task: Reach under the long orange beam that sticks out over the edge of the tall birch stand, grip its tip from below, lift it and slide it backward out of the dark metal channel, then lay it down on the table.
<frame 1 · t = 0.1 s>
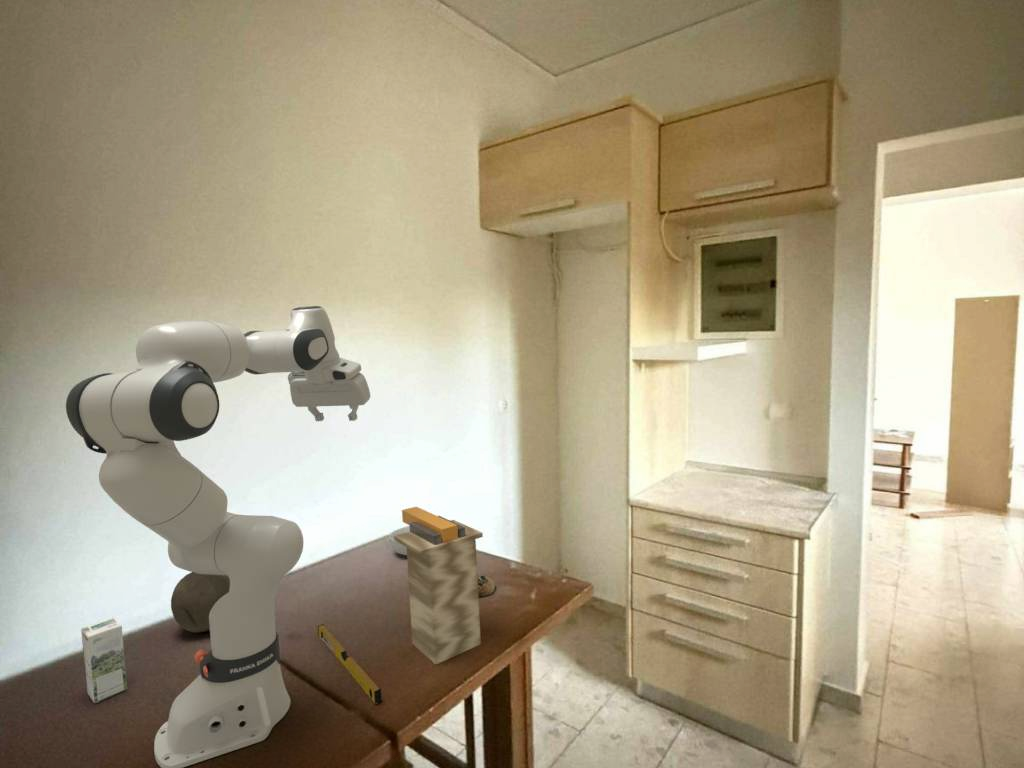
hand: (336, 420, 134), 52 cm above the table, tool tilted 20°, fingers open, 8 cm apart
spirit level: (346, 667, 116), on the table
stand: (444, 642, 123), on the table
cereal bowl: (415, 552, 180), on the table
long orange beam: (428, 529, 125), point 26 cm above the table, touching stand
dark grey ball: (205, 628, 135), on the table
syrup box: (107, 693, 110), on the table
bread roll: (477, 590, 150), on the table
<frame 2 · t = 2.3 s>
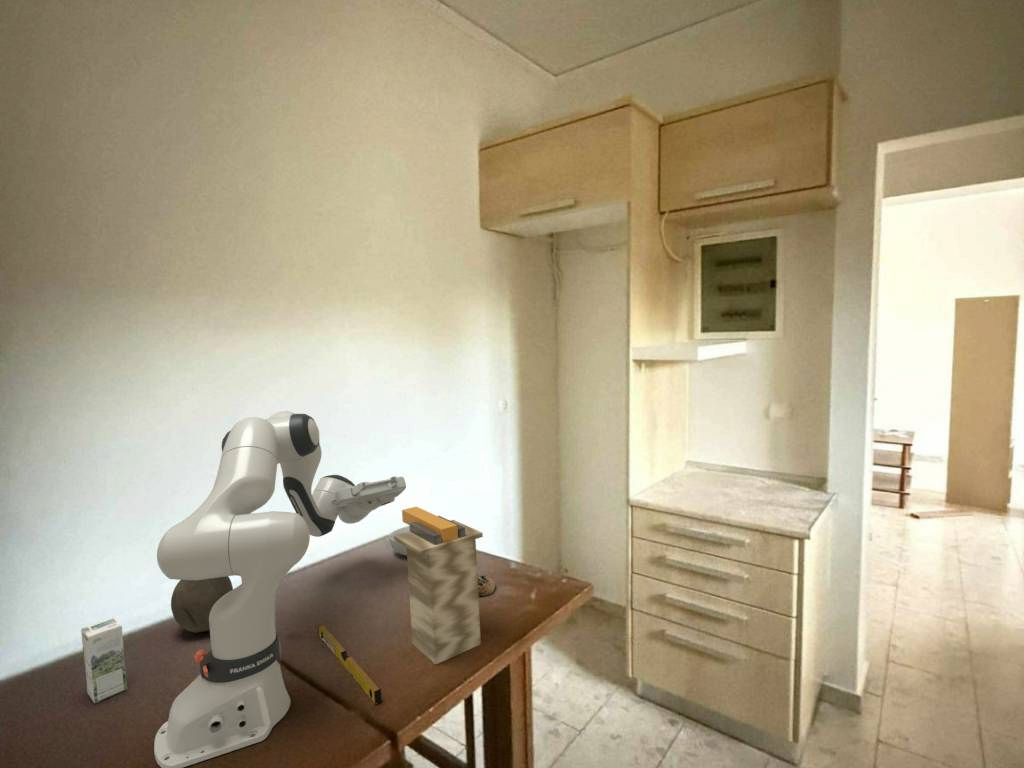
hand: (379, 482, 147), 33 cm above the table, tool pointing upward, fingers open, 8 cm apart
nothing on the table moved.
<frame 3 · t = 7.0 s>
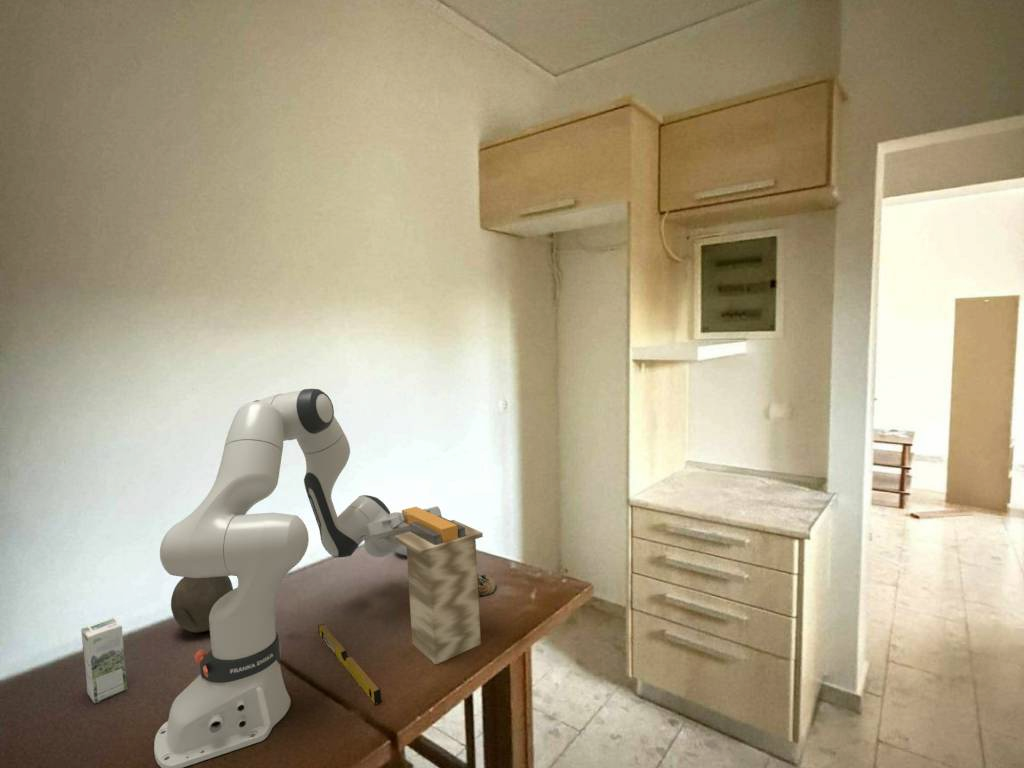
hand: (414, 514, 131), 28 cm above the table, tool pointing upward, fingers closed on long orange beam, 4 cm apart
long orange beam: (428, 529, 125), point 26 cm above the table, touching gripper, stand
everything else where it was.
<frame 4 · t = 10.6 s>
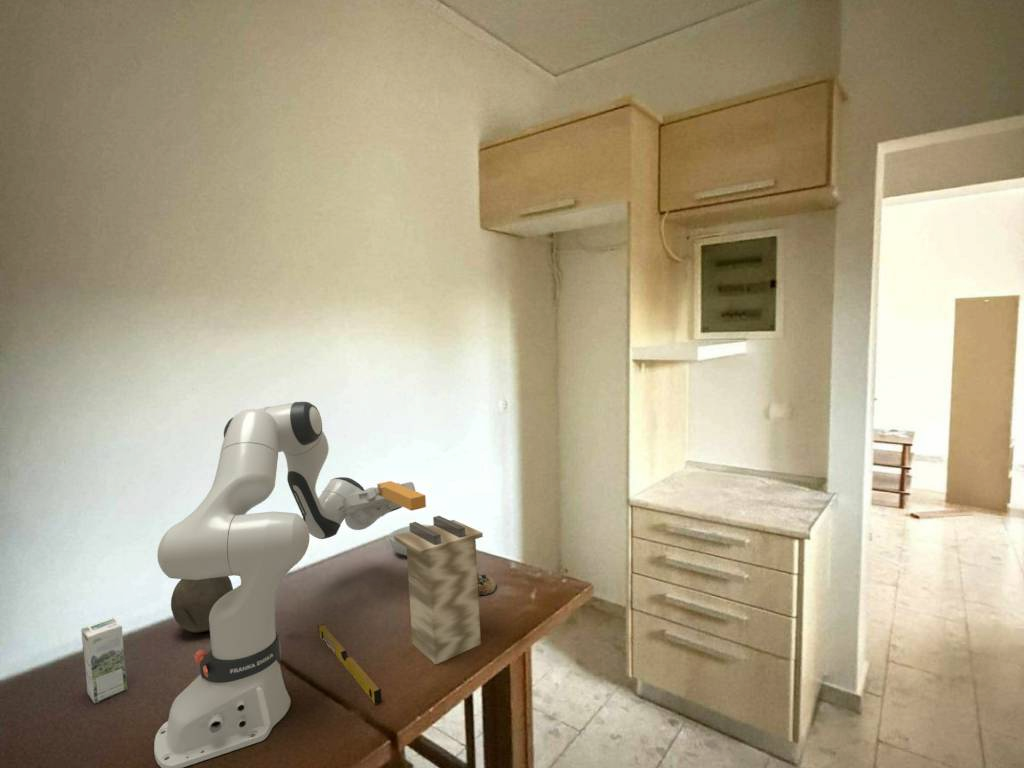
hand: (388, 488, 142), 32 cm above the table, tool pointing upward, fingers closed on long orange beam, 4 cm apart
long orange beam: (400, 500, 136), point 30 cm above the table, touching gripper
everything else where it was.
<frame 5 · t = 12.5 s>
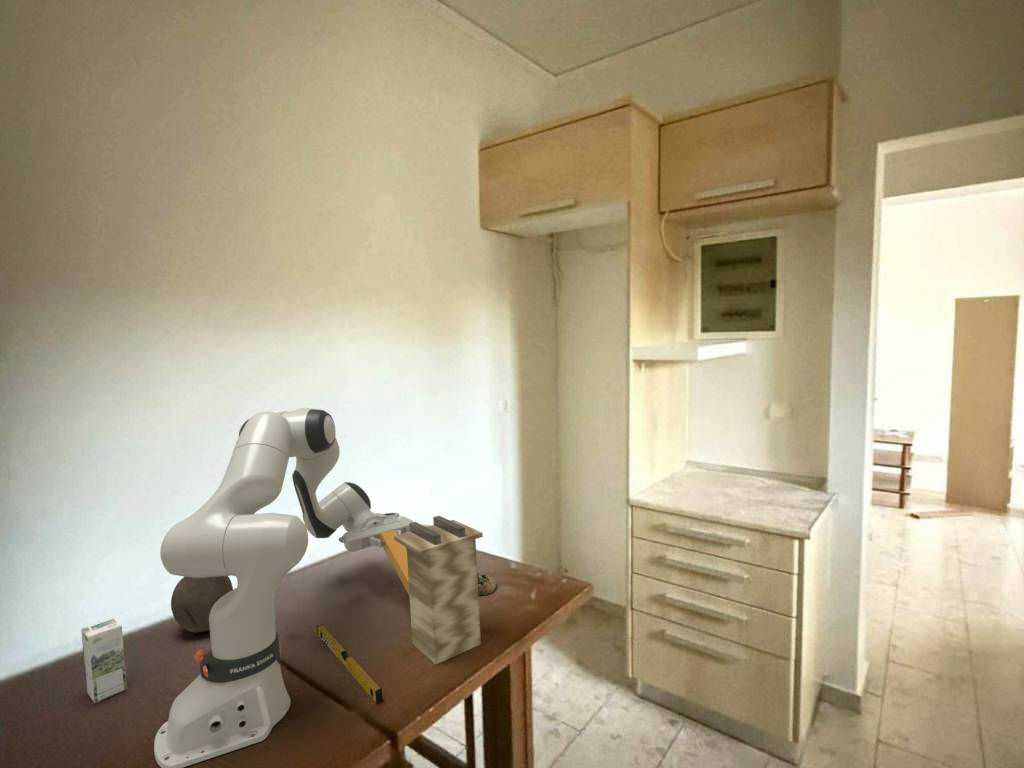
hand: (391, 541, 143), 17 cm above the table, tool horizontal, fingers closed on long orange beam, 4 cm apart
long orange beam: (401, 566, 139), point 12 cm above the table, tilted 30°, touching gripper
everything else where it was.
when the fingers open (11 cm above the table, at t = 14.3 s): long orange beam drops 6 cm, on the table.
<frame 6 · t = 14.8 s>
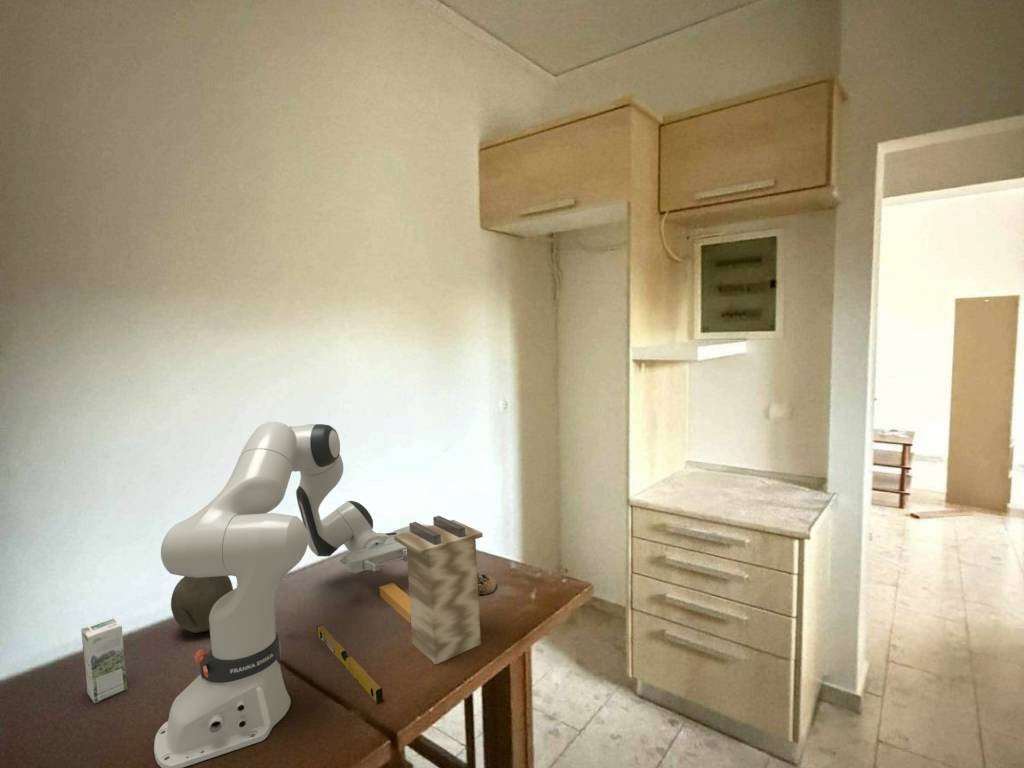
hand: (393, 563, 144), 11 cm above the table, tool horizontal, fingers open, 8 cm apart
long orange beam: (401, 608, 142), on the table
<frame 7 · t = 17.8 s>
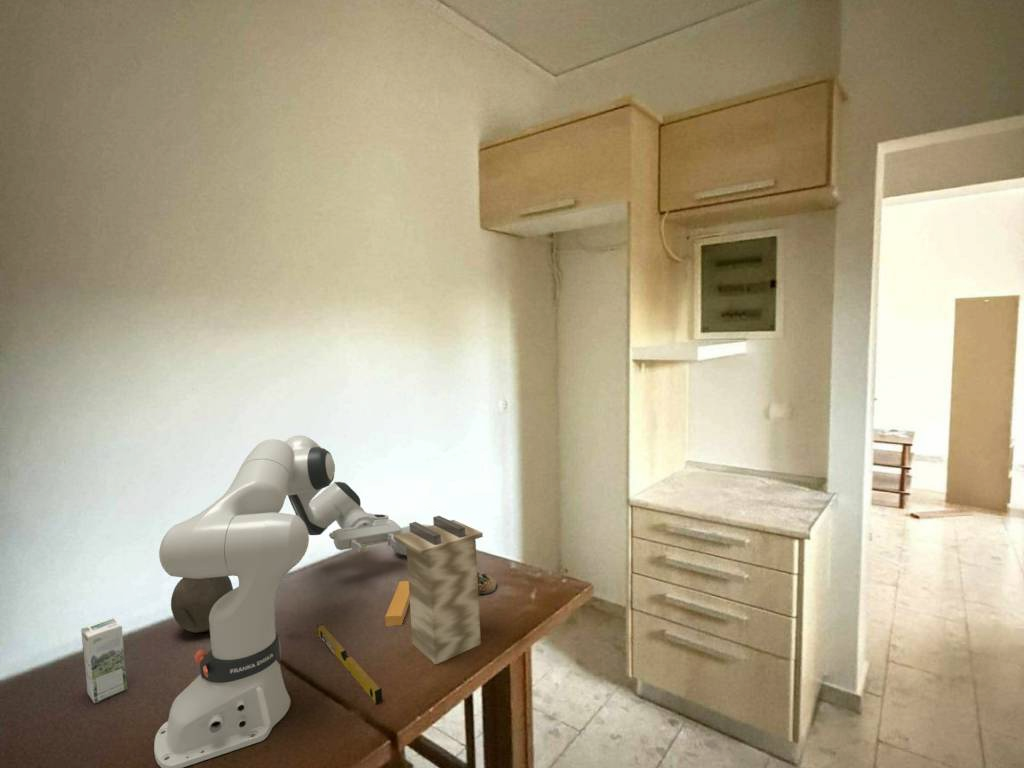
hand: (377, 546, 154), 12 cm above the table, tool horizontal, fingers open, 8 cm apart
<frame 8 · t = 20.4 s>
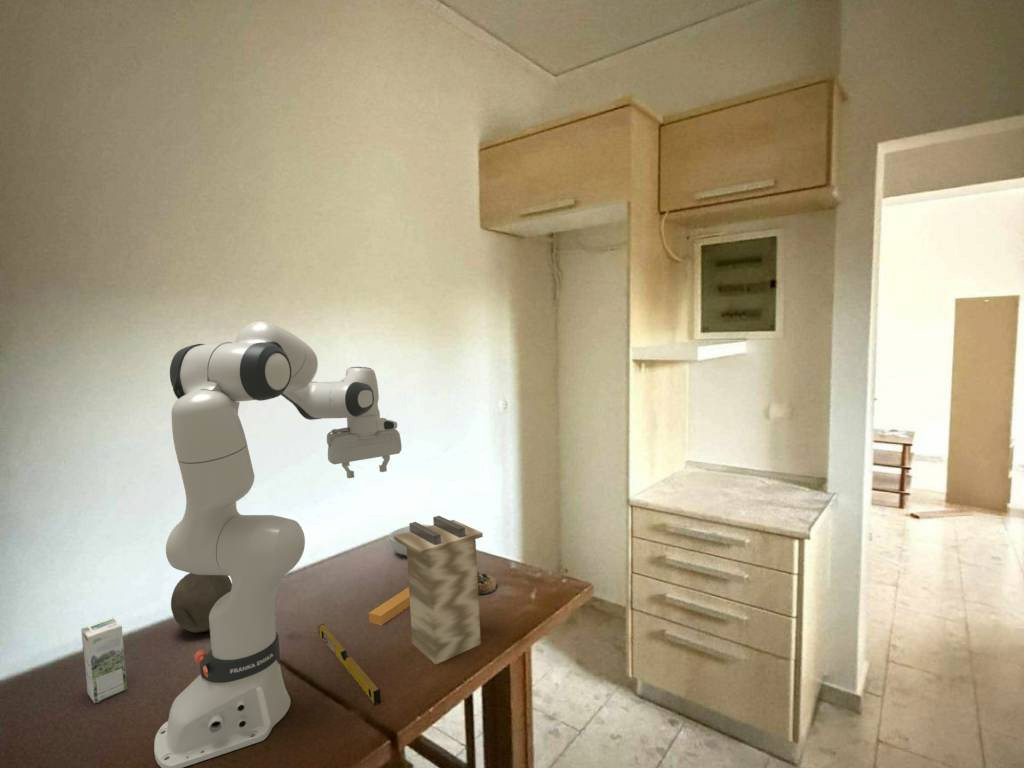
hand: (367, 474, 146), 35 cm above the table, tool pointing down, fingers open, 8 cm apart
at the end: long orange beam inside the target area (2.3 cm from its centre), on the table; long orange beam touching table; the gripper is holding nothing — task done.
